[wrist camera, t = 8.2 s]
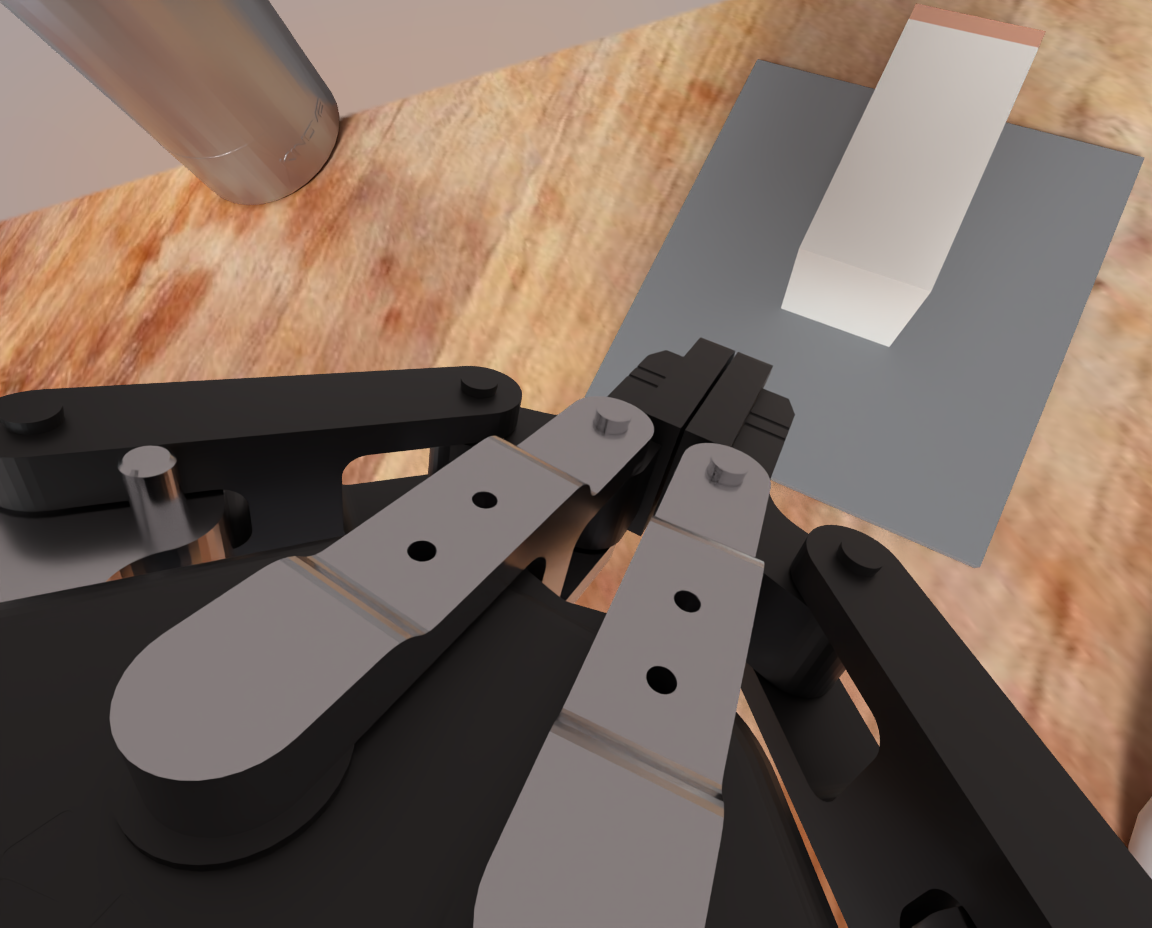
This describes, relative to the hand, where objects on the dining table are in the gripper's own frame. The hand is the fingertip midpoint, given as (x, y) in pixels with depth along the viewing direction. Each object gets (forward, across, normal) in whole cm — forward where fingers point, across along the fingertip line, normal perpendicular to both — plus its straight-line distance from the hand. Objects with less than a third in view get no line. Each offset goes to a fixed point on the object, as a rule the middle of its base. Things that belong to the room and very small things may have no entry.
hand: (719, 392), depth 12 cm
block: (+16, -2, +2) cm, 17 cm away
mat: (+20, -2, +3) cm, 21 cm away
